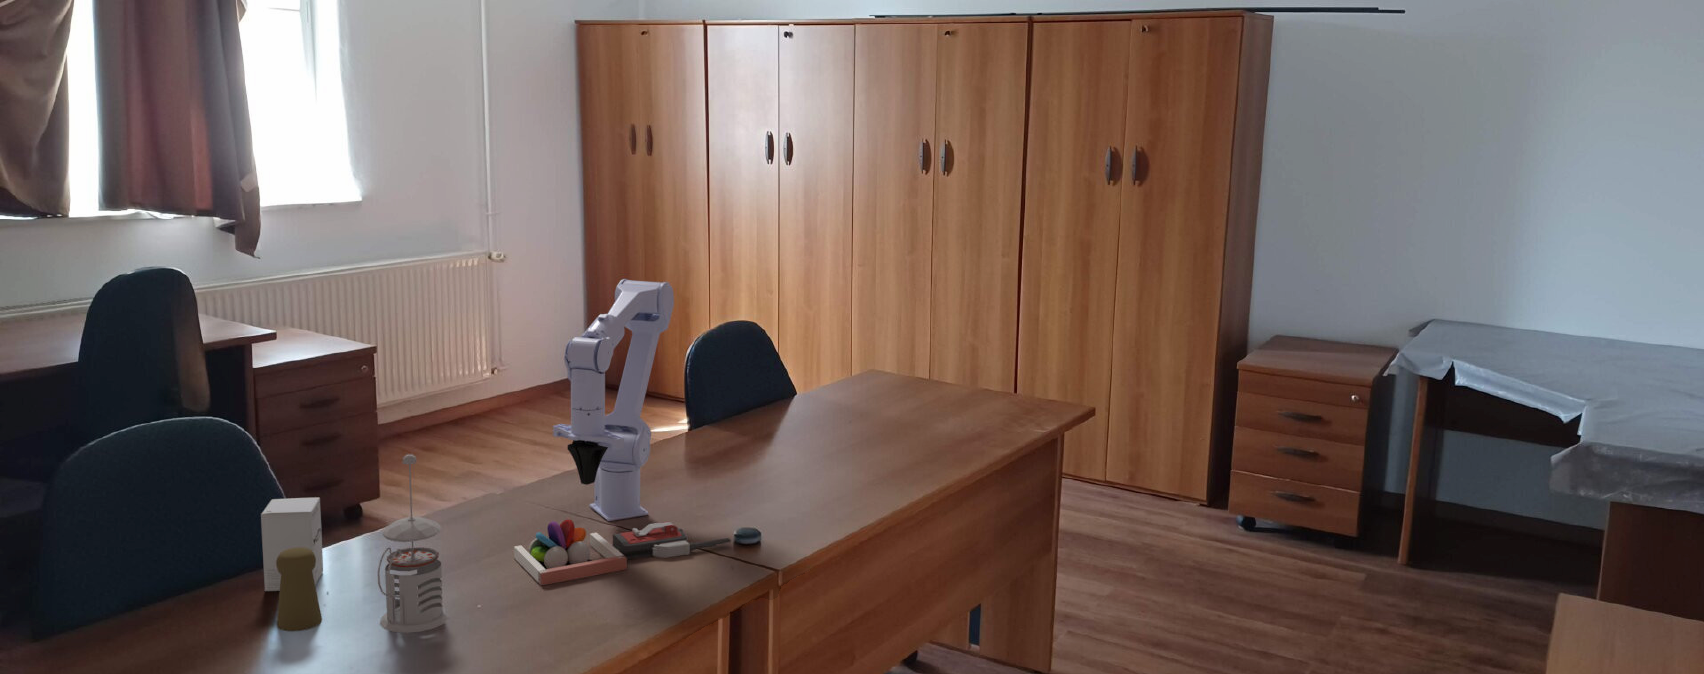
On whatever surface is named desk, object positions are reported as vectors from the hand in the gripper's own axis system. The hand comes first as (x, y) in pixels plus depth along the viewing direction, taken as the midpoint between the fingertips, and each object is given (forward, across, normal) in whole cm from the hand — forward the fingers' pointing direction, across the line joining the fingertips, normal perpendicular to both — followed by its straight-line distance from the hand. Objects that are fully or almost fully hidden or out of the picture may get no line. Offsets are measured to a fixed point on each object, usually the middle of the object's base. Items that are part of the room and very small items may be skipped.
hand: (587, 482), depth 215 cm
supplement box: (+11, -23, -41) cm, 48 cm away
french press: (+11, +3, -40) cm, 42 cm away
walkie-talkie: (+10, +14, +4) cm, 18 cm away
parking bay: (+10, +6, -10) cm, 16 cm away
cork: (+11, -9, -50) cm, 52 cm away
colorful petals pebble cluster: (+10, +4, -11) cm, 16 cm away
